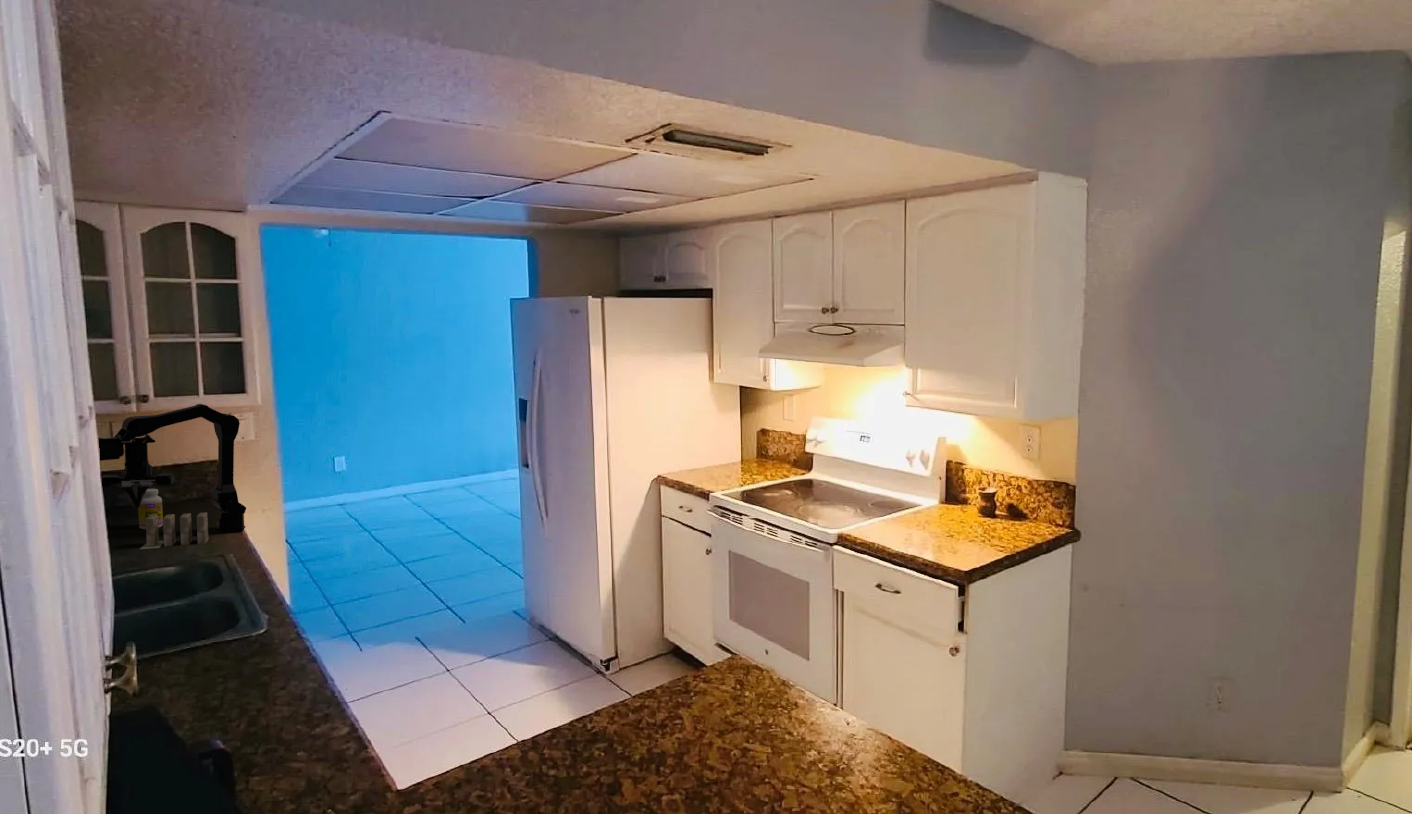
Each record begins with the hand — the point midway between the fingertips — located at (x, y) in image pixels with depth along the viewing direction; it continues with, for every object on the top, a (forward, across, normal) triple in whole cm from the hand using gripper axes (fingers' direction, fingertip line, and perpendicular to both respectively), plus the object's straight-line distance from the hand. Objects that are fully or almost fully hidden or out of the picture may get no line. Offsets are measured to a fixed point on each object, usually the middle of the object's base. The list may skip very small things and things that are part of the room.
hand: (138, 507), depth 244 cm
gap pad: (+12, -4, 0) cm, 13 cm away
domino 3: (+12, -17, 0) cm, 21 cm away
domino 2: (+12, -13, 0) cm, 18 cm away
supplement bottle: (+13, +2, -24) cm, 28 cm away
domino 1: (+12, -8, 0) cm, 15 cm away
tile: (+12, -4, 0) cm, 13 cm away
